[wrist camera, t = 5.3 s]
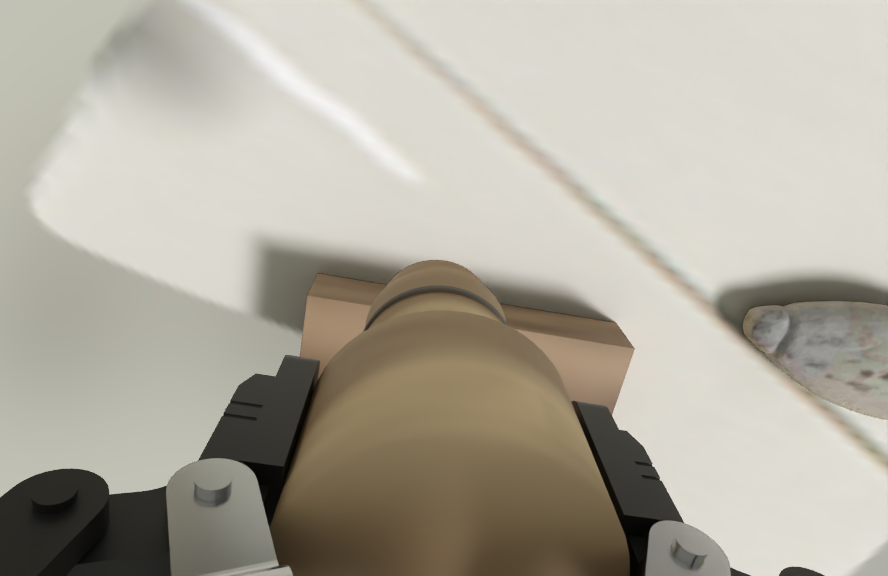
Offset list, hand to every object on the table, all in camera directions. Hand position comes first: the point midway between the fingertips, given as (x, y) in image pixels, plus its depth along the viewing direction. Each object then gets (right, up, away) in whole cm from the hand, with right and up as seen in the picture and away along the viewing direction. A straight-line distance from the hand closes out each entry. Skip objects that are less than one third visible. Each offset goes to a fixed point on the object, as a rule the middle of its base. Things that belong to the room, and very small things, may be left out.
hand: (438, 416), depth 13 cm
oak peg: (0, +2, +5) cm, 6 cm away
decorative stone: (+23, 0, +21) cm, 31 cm away
